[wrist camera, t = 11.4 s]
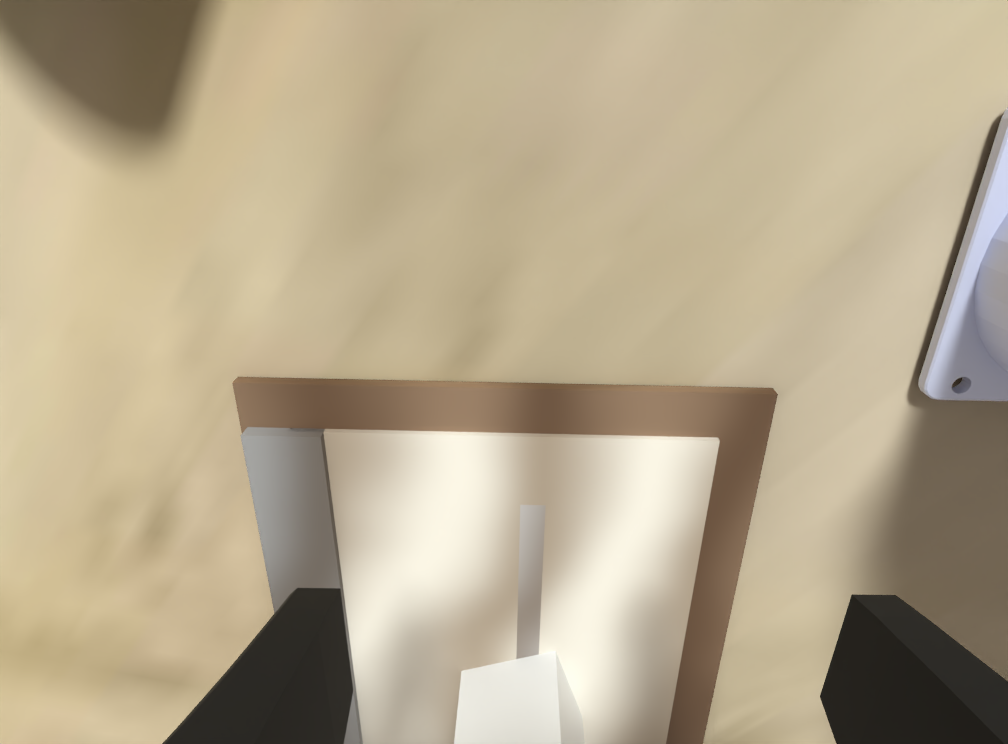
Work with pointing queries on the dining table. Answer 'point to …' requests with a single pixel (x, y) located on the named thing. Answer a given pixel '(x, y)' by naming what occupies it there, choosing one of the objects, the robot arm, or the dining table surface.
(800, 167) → the dining table surface
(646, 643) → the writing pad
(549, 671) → the long rectangular beam
